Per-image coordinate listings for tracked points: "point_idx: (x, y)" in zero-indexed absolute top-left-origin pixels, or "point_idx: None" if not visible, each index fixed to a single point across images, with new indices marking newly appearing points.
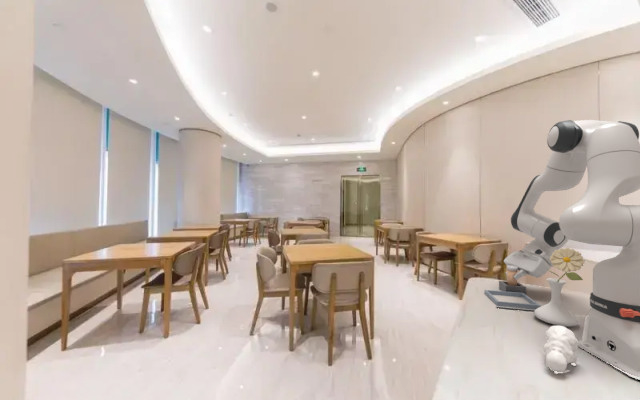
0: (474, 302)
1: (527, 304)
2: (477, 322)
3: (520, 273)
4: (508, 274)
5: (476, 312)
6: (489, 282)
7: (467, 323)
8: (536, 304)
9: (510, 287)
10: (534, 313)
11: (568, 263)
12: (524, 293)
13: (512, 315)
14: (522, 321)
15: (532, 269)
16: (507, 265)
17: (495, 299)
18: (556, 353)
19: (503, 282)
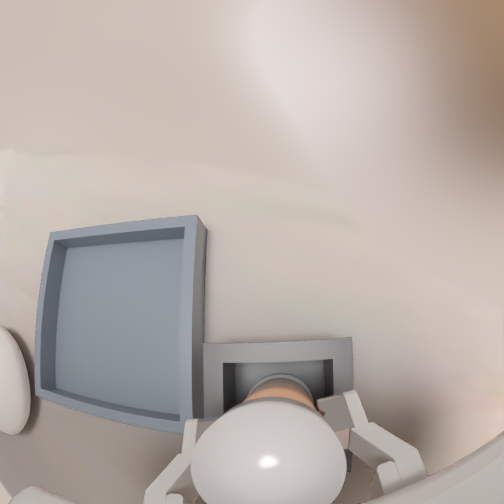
0: (116, 177)
1: (35, 345)
2: (16, 178)
3: (163, 479)
4: (255, 395)
5: (50, 178)
6: (490, 321)
7: (18, 161)
8: (46, 389)
9: (205, 374)
10: (2, 328)
11: None
12: None
13: (28, 274)
14: (5, 284)
15: (21, 501)
16: (313, 421)
17: (68, 232)
18: None
19: (305, 359)
